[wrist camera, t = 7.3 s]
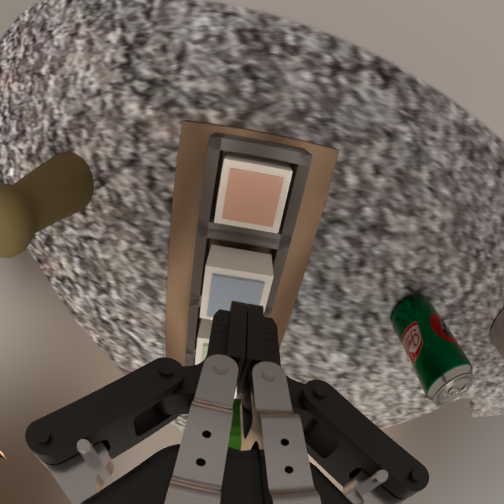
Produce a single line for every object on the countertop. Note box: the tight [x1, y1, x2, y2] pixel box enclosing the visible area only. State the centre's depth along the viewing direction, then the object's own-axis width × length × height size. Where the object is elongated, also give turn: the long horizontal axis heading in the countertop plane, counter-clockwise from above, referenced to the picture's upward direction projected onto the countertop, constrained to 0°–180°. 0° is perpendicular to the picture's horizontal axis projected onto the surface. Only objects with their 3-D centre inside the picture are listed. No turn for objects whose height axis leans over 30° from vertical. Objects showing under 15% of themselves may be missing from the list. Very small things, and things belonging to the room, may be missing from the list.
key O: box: [214, 152, 293, 233], centre depth 21 cm, size 4×4×3 cm
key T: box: [200, 245, 274, 320], centre depth 22 cm, size 4×4×3 cm
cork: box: [0, 152, 94, 258], centre depth 19 cm, size 6×6×11 cm
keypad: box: [166, 121, 339, 399], centre depth 27 cm, size 12×27×4 cm, turn 169°
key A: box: [195, 318, 213, 365], centre depth 25 cm, size 4×4×3 cm
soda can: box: [392, 296, 474, 406], centre depth 25 cm, size 5×5×12 cm
